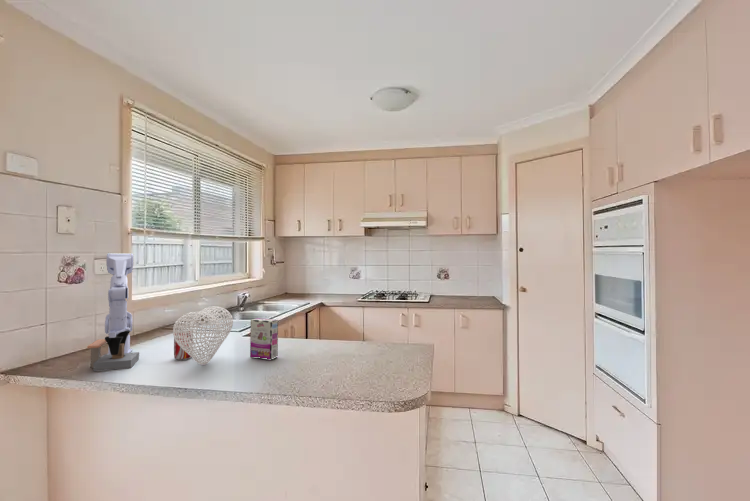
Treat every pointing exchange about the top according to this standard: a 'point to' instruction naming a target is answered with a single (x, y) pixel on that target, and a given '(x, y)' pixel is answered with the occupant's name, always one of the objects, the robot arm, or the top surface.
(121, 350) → the peg
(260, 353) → the candy bar box
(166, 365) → the top surface
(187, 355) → the soda can
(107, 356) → the socket block
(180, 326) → the heart
